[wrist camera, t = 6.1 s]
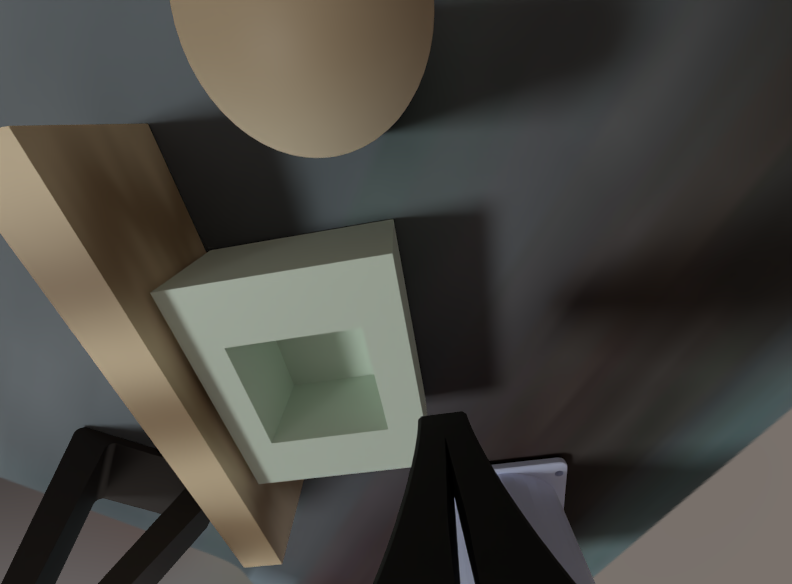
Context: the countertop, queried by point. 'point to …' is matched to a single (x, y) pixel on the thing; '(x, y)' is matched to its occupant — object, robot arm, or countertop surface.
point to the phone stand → (118, 481)
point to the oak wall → (133, 304)
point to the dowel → (308, 66)
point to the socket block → (305, 350)
